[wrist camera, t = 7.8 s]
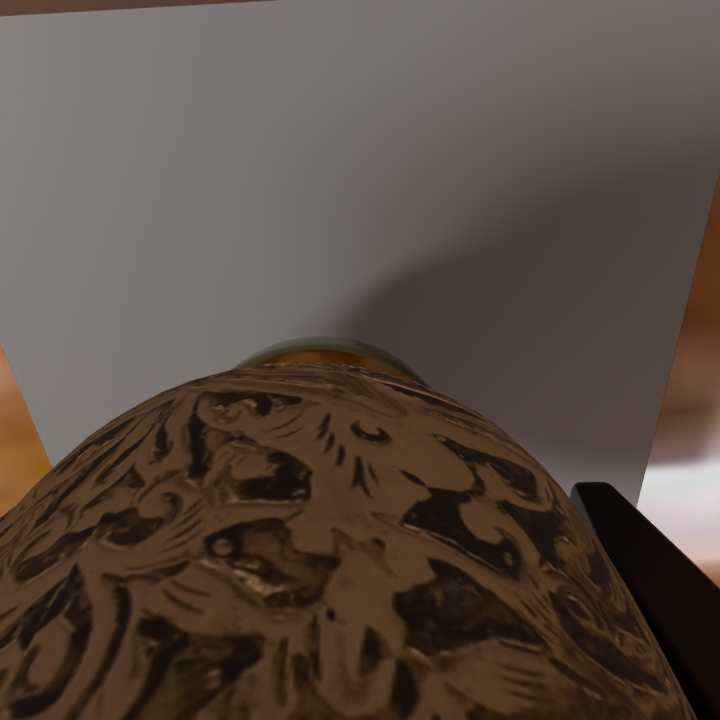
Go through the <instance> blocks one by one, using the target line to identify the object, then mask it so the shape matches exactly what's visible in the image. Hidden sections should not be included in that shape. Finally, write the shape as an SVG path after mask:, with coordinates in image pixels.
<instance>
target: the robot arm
mask: <svg viewBox="0 0 720 720" xmlns="http://www.w3.org/2000/svg"><path fill="white" fill-rule="evenodd" d="M570 500H571V501H572V502H573V504H574V505H575V506H576V508H577V509H578V510H579V512H580V513H581V514H582V515H583V517H584V518H585V519H586V521H587V523H588V524H589V526H590V527H591V529H592V531H593V532H594V534H595V535H596V537H597V539H598V540H599V542H600V544H601V545H602V547H603V548H604V550H605V552H606V553H607V555H608V557H609V558H610V560H611V561H612V563H613V565H614V566H615V568H616V570H617V571H618V573H619V574H620V576H621V578H622V579H623V581H624V583H625V584H626V586H627V588H628V589H629V591H630V593H631V595H632V597H633V598H634V600H635V602H636V604H637V606H638V608H639V609H640V611H641V613H642V615H643V617H644V618H645V620H646V622H647V624H648V626H649V628H650V629H651V631H652V633H653V635H654V637H655V638H656V640H657V642H658V644H659V646H660V648H661V650H662V652H663V654H664V656H665V657H666V659H667V661H668V663H669V665H670V667H671V669H672V671H673V673H674V675H675V677H676V679H677V681H678V683H679V684H680V686H681V688H682V690H683V692H684V694H685V696H686V698H687V700H688V702H689V704H690V706H691V708H692V710H693V712H694V713H695V715H696V717H697V719H698V720H720V587H719V586H718V585H716V584H715V583H714V582H713V581H712V580H711V579H710V578H709V577H708V576H707V575H706V574H705V573H704V572H703V571H702V570H701V569H700V568H699V567H697V566H696V565H695V564H694V563H693V562H692V561H691V560H690V559H689V558H688V557H687V556H686V555H685V554H684V553H683V552H682V551H681V550H680V549H678V548H677V547H676V546H675V545H674V544H673V543H672V542H671V541H670V540H669V539H668V538H667V537H666V536H665V535H664V534H663V533H662V532H661V531H659V530H658V529H657V528H656V527H655V526H654V525H653V524H652V523H651V522H650V521H649V520H648V519H647V518H646V517H645V516H644V515H643V514H642V513H640V512H639V511H638V510H637V509H636V508H635V507H634V506H633V505H632V504H631V503H630V502H629V501H628V500H627V499H626V498H625V497H624V496H623V495H621V494H620V493H619V492H618V491H617V490H616V489H615V488H614V487H613V486H612V485H610V484H609V483H607V482H578V483H576V484H574V486H573V488H572V490H571V495H570ZM12 510H13V508H12V509H11V510H10V511H9V512H7V513H6V514H5V515H4V516H2V517H1V518H0V522H1V521H2V520H3V519H4V518H5V517H6V516H7V515H8V514H9V513H10V512H11V511H12Z"/></svg>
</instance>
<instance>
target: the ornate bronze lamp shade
mask: <svg viewBox="0 0 720 720" xmlns="http://www.w3.org/2000/svg"><path fill="white" fill-rule="evenodd" d="M0 720H698V719H697V717H696V715H695V713H694V712H693V710H692V708H691V706H690V704H689V702H688V700H687V698H686V696H685V694H684V692H683V690H682V688H681V686H680V684H679V683H678V681H677V679H676V677H675V675H674V673H673V671H672V669H671V667H670V665H669V663H668V661H667V659H666V657H665V656H664V654H663V652H662V650H661V648H660V646H659V644H658V642H657V640H656V638H655V637H654V635H653V633H652V631H651V629H650V628H649V626H648V624H647V622H646V620H645V618H644V617H643V615H642V613H641V611H640V609H639V608H638V606H637V604H636V602H635V600H634V598H633V597H632V595H631V593H630V591H629V589H628V588H627V586H626V584H625V583H624V581H623V579H622V578H621V576H620V574H619V573H618V571H617V570H616V568H615V566H614V565H613V563H612V561H611V560H610V558H609V557H608V555H607V553H606V552H605V550H604V548H603V547H602V545H601V544H600V542H599V540H598V539H597V537H596V535H595V534H594V532H593V531H592V529H591V527H590V526H589V524H588V523H587V521H586V519H585V518H584V517H583V515H582V514H581V513H580V512H579V510H578V509H577V508H576V506H575V505H574V504H573V502H572V501H571V500H570V498H569V497H568V496H567V494H566V493H565V492H564V490H563V489H562V488H561V487H560V485H559V484H558V483H557V482H556V481H555V479H554V478H553V477H552V476H551V475H550V474H549V472H548V471H547V470H546V469H545V468H544V467H543V466H542V465H541V464H540V463H539V462H538V461H537V460H536V459H535V458H534V457H532V456H531V455H530V454H529V453H528V452H527V451H526V450H525V449H524V448H522V447H521V446H520V445H519V444H518V443H517V442H516V441H515V440H514V439H512V438H511V437H510V436H509V435H508V434H507V433H506V432H505V431H503V430H502V429H501V428H499V427H498V426H497V425H495V424H494V423H492V422H491V421H490V420H488V419H487V418H485V417H484V416H482V415H481V414H480V413H478V412H476V411H474V410H472V409H471V408H469V407H467V406H465V405H463V404H462V403H460V402H458V401H456V400H454V399H452V398H450V397H448V396H446V395H444V394H442V393H440V392H437V391H435V390H433V389H432V388H431V387H430V386H429V385H428V384H427V383H426V382H425V380H424V379H423V378H422V377H421V376H420V375H419V374H418V373H416V372H415V371H414V370H413V369H412V368H411V367H410V366H408V365H407V364H406V363H404V362H403V361H401V360H400V359H399V358H397V357H396V356H394V355H392V354H390V353H388V352H387V351H385V350H383V349H380V348H378V347H375V346H373V345H370V344H367V343H364V342H361V341H357V340H352V339H347V338H340V337H331V336H314V337H302V338H296V339H290V340H287V341H283V342H279V343H276V344H274V345H271V346H268V347H266V348H264V349H262V350H260V351H258V352H256V353H254V354H252V355H250V356H249V357H247V358H246V359H244V360H243V361H241V362H240V363H238V364H237V365H236V366H234V367H233V368H232V369H230V370H229V371H225V372H221V373H218V374H214V375H210V376H207V377H203V378H199V379H196V380H192V381H189V382H186V383H184V384H181V385H179V386H176V387H174V388H171V389H168V390H166V391H163V392H161V393H159V394H157V395H155V396H154V397H152V398H150V399H148V400H146V401H144V402H142V403H140V404H138V405H136V406H135V407H133V408H131V409H130V410H128V411H126V412H125V413H123V414H121V415H120V416H118V417H116V418H115V419H113V420H111V421H110V422H109V423H107V424H106V425H104V426H103V427H101V428H100V429H99V430H97V431H96V432H94V433H93V434H91V435H90V436H89V437H87V438H86V439H85V440H84V441H83V442H82V443H81V444H79V445H78V446H77V447H76V448H75V449H74V450H73V451H72V452H71V453H69V454H68V455H67V456H66V457H65V458H64V459H63V460H62V461H60V462H59V463H58V464H57V465H56V466H55V467H54V468H53V469H52V470H51V471H50V472H49V473H47V474H46V475H45V476H44V477H43V478H42V479H41V480H40V481H39V482H38V483H37V484H36V485H35V486H34V487H33V488H32V489H31V490H30V491H29V492H28V493H27V494H26V496H25V497H24V498H23V499H22V500H21V501H20V502H19V503H18V504H17V505H16V506H15V507H14V508H13V510H12V511H11V512H10V513H9V514H8V515H7V516H6V517H5V518H4V519H3V520H2V521H1V522H0Z"/></svg>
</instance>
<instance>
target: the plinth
mask: <svg viewBox="0 0 720 720" xmlns="http://www.w3.org/2000/svg"><path fill="white" fill-rule="evenodd" d="M719 174H720V0H0V344H1V346H2V349H3V351H4V354H5V356H6V358H7V361H8V363H9V365H10V368H11V370H12V373H13V375H14V377H15V380H16V382H17V384H18V387H19V389H20V392H21V394H22V396H23V399H24V401H25V403H26V406H27V408H28V411H29V413H30V415H31V418H32V420H33V422H34V425H35V427H36V430H37V432H38V434H39V437H40V439H41V441H42V444H43V446H44V449H45V451H46V453H47V456H48V458H49V460H50V463H51V465H52V468H54V467H55V466H56V465H57V464H58V463H59V462H60V461H62V460H63V459H64V458H65V457H66V456H67V455H68V454H69V453H71V452H72V451H73V450H74V449H75V448H76V447H77V446H78V445H79V444H81V443H82V442H83V441H84V440H85V439H86V438H87V437H89V436H90V435H91V434H93V433H94V432H96V431H97V430H99V429H100V428H101V427H103V426H104V425H106V424H107V423H109V422H110V421H111V420H113V419H115V418H116V417H118V416H120V415H121V414H123V413H125V412H126V411H128V410H130V409H131V408H133V407H135V406H136V405H138V404H140V403H142V402H144V401H146V400H148V399H150V398H152V397H154V396H155V395H157V394H159V393H161V392H163V391H166V390H168V389H171V388H174V387H176V386H179V385H181V384H184V383H186V382H189V381H192V380H196V379H199V378H203V377H207V376H210V375H214V374H218V373H221V372H225V371H229V370H230V369H232V368H233V367H234V366H236V365H237V364H238V363H240V362H241V361H243V360H244V359H246V358H247V357H249V356H250V355H252V354H254V353H256V352H258V351H260V350H262V349H264V348H266V347H268V346H271V345H274V344H276V343H279V342H283V341H287V340H290V339H296V338H302V337H314V336H331V337H340V338H347V339H352V340H357V341H361V342H364V343H367V344H370V345H373V346H375V347H378V348H380V349H383V350H385V351H387V352H388V353H390V354H392V355H394V356H396V357H397V358H399V359H400V360H401V361H403V362H404V363H406V364H407V365H408V366H410V367H411V368H412V369H413V370H414V371H415V372H416V373H418V374H419V375H420V376H421V377H422V378H423V379H424V380H425V382H426V383H427V384H428V385H429V386H430V387H431V388H432V389H433V390H435V391H437V392H440V393H442V394H444V395H446V396H448V397H450V398H452V399H454V400H456V401H458V402H460V403H462V404H463V405H465V406H467V407H469V408H471V409H472V410H474V411H476V412H478V413H480V414H481V415H482V416H484V417H485V418H487V419H488V420H490V421H491V422H492V423H494V424H495V425H497V426H498V427H499V428H501V429H502V430H503V431H505V432H506V433H507V434H508V435H509V436H510V437H511V438H512V439H514V440H515V441H516V442H517V443H518V444H519V445H520V446H521V447H522V448H524V449H525V450H526V451H527V452H528V453H529V454H530V455H531V456H532V457H534V458H535V459H536V460H537V461H538V462H539V463H540V464H541V465H542V466H543V467H544V468H545V469H546V470H547V471H548V472H549V474H550V475H551V476H552V477H553V478H554V479H555V481H556V482H557V483H558V484H559V485H560V487H561V488H562V489H563V490H564V492H565V493H566V494H567V496H568V497H569V498H570V495H571V490H572V488H573V486H574V484H576V483H578V482H607V483H609V484H610V485H612V486H613V487H614V488H615V489H616V490H617V491H618V492H619V493H620V494H621V495H623V496H624V497H625V498H626V499H627V500H628V501H629V502H630V503H631V504H632V505H633V506H634V507H635V508H636V507H637V503H638V499H639V495H640V491H641V487H642V483H643V479H644V474H645V470H646V466H647V462H648V458H649V454H650V450H651V446H652V442H653V438H654V434H655V430H656V426H657V422H658V418H659V414H660V410H661V406H662V402H663V398H664V394H665V390H666V386H667V382H668V378H669V374H670V370H671V366H672V362H673V358H674V354H675V350H676V346H677V342H678V338H679V334H680V330H681V326H682V322H683V318H684V314H685V310H686V306H687V302H688V298H689V294H690V290H691V286H692V282H693V278H694V274H695V270H696V266H697V262H698V258H699V254H700V250H701V246H702V242H703V238H704V234H705V230H706V226H707V222H708V218H709V214H710V210H711V206H712V202H713V198H714V194H715V190H716V186H717V182H718V178H719Z"/></svg>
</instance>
